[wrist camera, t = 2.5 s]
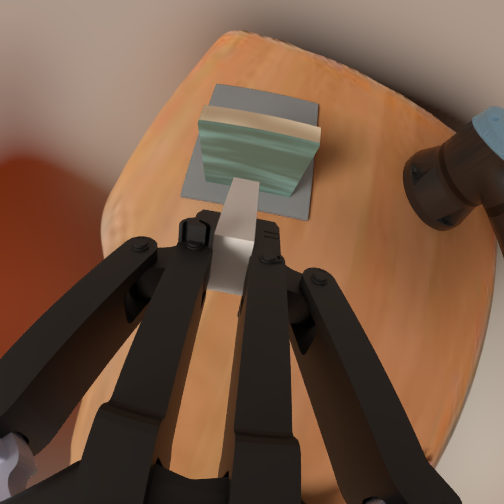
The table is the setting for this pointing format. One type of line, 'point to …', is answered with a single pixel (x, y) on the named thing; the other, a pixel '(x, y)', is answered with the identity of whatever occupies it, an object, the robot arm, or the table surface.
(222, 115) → the plaque
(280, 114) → the mat
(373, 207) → the table surface
